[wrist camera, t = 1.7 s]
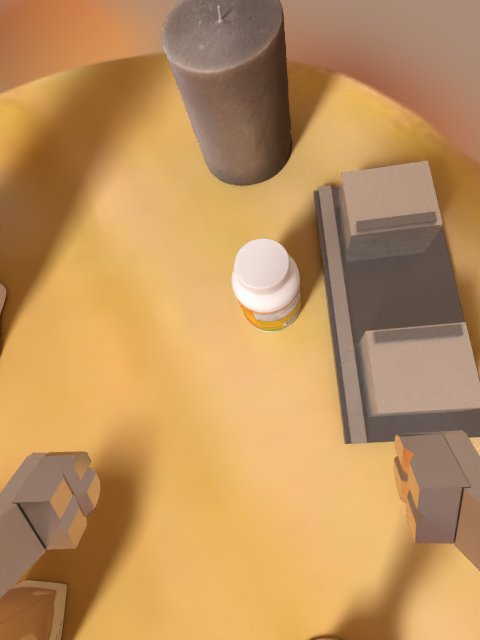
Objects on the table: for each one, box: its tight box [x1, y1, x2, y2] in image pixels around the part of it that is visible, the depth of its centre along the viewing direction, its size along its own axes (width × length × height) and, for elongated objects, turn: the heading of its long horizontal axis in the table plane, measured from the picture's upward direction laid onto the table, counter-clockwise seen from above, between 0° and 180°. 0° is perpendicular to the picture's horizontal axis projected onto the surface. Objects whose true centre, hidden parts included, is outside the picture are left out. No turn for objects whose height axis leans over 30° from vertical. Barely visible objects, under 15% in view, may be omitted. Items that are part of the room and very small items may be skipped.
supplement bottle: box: [232, 238, 301, 332], centre depth 32 cm, size 5×5×10 cm
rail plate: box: [314, 161, 480, 444], centre depth 32 cm, size 24×11×6 cm, turn 3°
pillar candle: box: [161, 0, 292, 186], centre depth 35 cm, size 10×10×15 cm
